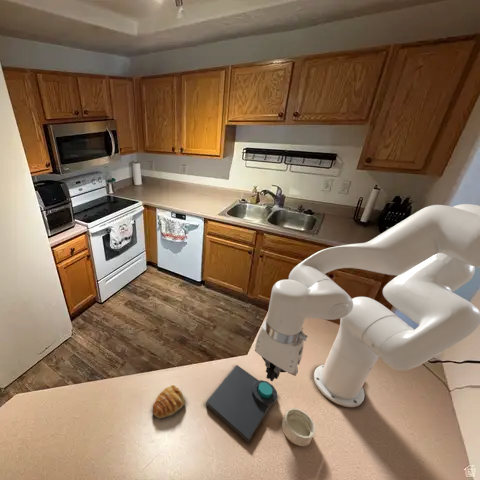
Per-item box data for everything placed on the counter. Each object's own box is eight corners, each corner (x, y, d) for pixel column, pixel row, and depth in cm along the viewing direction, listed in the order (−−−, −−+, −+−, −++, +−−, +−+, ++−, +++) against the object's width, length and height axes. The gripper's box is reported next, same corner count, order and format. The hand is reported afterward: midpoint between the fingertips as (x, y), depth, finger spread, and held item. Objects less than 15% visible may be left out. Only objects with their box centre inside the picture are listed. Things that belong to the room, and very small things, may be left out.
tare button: (261, 383, 75) (262, 379, 74) (273, 392, 73) (274, 388, 72) (255, 392, 73) (256, 388, 72) (267, 401, 71) (268, 397, 70)
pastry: (162, 427, 69) (161, 419, 67) (147, 407, 73) (146, 399, 72) (187, 404, 74) (187, 396, 72) (172, 386, 78) (171, 378, 77)
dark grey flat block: (236, 368, 83) (237, 360, 81) (278, 398, 74) (281, 391, 73) (206, 405, 73) (206, 398, 72) (250, 445, 64) (252, 438, 63)
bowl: (287, 411, 71) (291, 402, 69) (314, 431, 67) (319, 422, 65) (277, 431, 67) (280, 422, 65) (304, 454, 63) (309, 444, 60)
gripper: (323, 335, 58) (306, 384, 67) (260, 304, 68) (252, 351, 77) (311, 357, 54) (294, 406, 63) (245, 321, 63) (239, 368, 72)
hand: (271, 376), depth 70 cm, fingers closed
